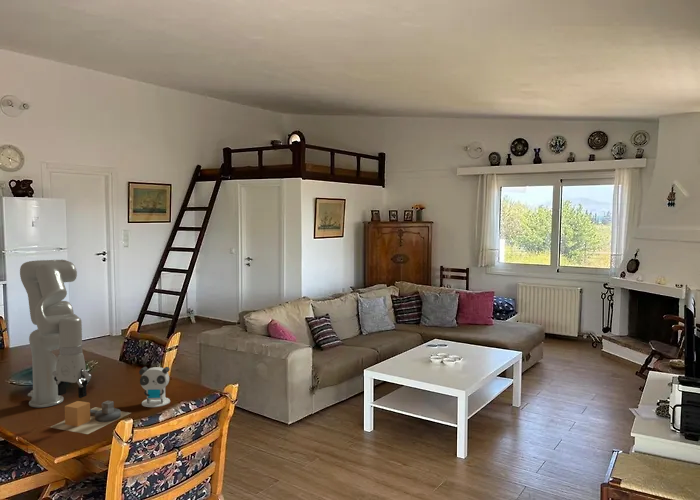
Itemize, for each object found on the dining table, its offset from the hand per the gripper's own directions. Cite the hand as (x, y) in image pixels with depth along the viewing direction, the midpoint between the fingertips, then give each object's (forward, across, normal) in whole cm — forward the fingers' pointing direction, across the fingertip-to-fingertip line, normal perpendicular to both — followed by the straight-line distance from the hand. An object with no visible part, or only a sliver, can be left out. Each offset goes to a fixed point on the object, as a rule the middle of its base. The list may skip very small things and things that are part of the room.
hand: (72, 395), depth 198 cm
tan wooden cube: (+11, +1, +2) cm, 11 cm away
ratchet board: (+12, +3, +6) cm, 14 cm away
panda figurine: (+12, +12, +32) cm, 36 cm away
